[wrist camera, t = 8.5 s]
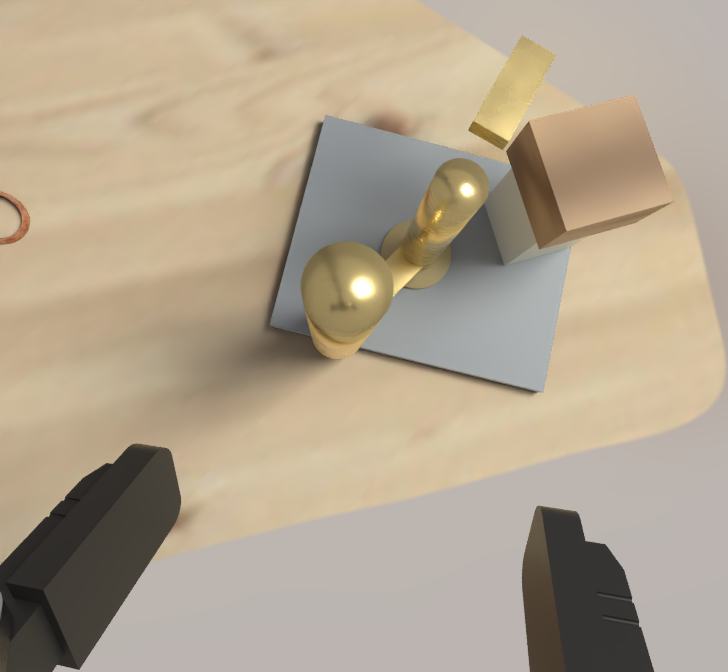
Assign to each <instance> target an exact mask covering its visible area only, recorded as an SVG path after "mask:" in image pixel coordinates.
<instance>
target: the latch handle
mask: <svg viewBox="0 0 728 672" xmlns="http://www.w3.org/2000/svg"><path fill="white" fill-rule="evenodd" d="M555 57H556V55H555V54H553V53H552V52H550V51H548V50H546V49H544V48H543V47H541V46H539V45H538V44H536V43H534V42H532V41H531V40H529V39H527V38H526V37H524V36H521V38H520V40H519V41H518V43H517V45H516V47H515V49H514V50H513V52H512V54H511V55H510V57H509V59H508V61H507V62H506V64H505V66H504V68H503V70H502V71H501V73H500V75H499V77H498V78H497V80H496V82H495V84H494V85H493V87H492V89H491V91H490V92H489V94H488V96H487V98H486V99H485V101H484V103H483V105H482V107H481V108H480V110H479V112H478V114H477V115H476V117H475V119H474V121H473V122H472V124H471V126H470V128H469V131H470V132H472V133H474V134H476V135H477V136H479V137H481V138H483V139H484V140H486V141H488V142H490V143H491V144H493V145H495V146H497V147H498V148H500V149H502V150H503V149H504V147H505V146H506V145H507V143H508V142H509V140H510V138H511V137H512V135H513V133H514V131H515V129H516V128H517V126H518V124H519V122H520V120H521V118H522V117H523V115H524V113H525V111H526V109H527V108H528V106H529V104H530V102H531V100H532V99H533V97H534V95H535V93H536V91H537V89H538V88H539V86H540V84H541V82H542V80H543V79H544V77H545V75H546V73H547V71H548V69H549V68H550V66H551V64H552V62H553V60H554V58H555ZM488 194H489V181H488V177H487V175H486V173H485V171H484V170H483V169H482V168H481V167H480V166H479V165H478V164H477V163H475V162H473V161H471V160H469V159H464V158H455V159H451V160H448V161H446V162H445V163H443V164H442V165H441V166H440V167H439V168H438V170H437V171H436V173H435V175H434V177H433V179H432V181H431V183H430V185H429V187H428V189H427V191H426V193H425V195H424V197H423V199H422V201H421V203H420V205H419V207H418V209H417V211H416V213H415V215H414V217H413V219H412V221H411V223H410V225H409V227H408V229H407V231H406V233H405V235H404V237H403V239H402V241H401V243H400V245H399V248H398V249H397V250H396V251H395V252H394V253H393V254H392V255H391V256H390V257H389V258H388V259H387V260H386V261H385V260H384V259H383V258H382V257H381V256H380V255H379V254H378V253H377V252H376V251H374V250H373V249H371V248H370V247H368V246H366V245H363V244H360V243H356V242H348V241H346V242H337V243H333V244H330V245H328V246H325V247H323V248H322V249H320V250H319V251H318V252H316V253H315V254H314V255H313V256H312V257H311V258H310V260H309V261H308V263H307V264H306V266H305V268H304V271H303V274H302V278H301V286H300V287H301V296H302V300H303V305H304V309H305V313H306V317H307V321H308V325H309V329H310V333H311V337H312V341H313V343H314V345H315V347H316V348H317V350H318V351H319V352H320V353H322V354H323V355H325V356H327V357H329V358H333V359H343V358H347V357H349V356H351V355H353V354H354V353H355V352H357V350H358V349H359V348H360V347H361V345H362V344H363V343H364V342H365V340H366V339H367V338H368V336H369V335H370V334H371V332H372V331H373V330H374V328H375V327H376V326H377V324H378V323H379V322H380V320H381V319H382V318H383V316H384V315H385V314H386V312H387V311H388V309H389V307H390V305H391V302H392V298H393V297H394V296H395V295H396V294H397V293H398V292H399V291H400V290H401V289H402V288H403V287H404V286H405V285H406V284H407V283H408V282H409V281H410V280H411V279H412V278H413V277H414V276H415V275H416V274H417V273H418V272H419V271H424V270H426V269H428V268H430V267H431V266H432V265H433V263H434V262H435V261H436V260H437V259H438V257H439V256H440V255H441V254H442V253H443V251H444V250H445V249H446V248H447V247H448V245H449V244H450V243H451V242H452V241H453V239H454V238H455V237H456V236H457V235H458V233H459V232H460V231H461V230H462V229H463V227H464V226H465V225H466V224H467V223H468V221H469V220H470V219H471V218H472V217H473V215H474V214H475V213H476V212H477V211H478V209H479V208H480V207H481V206H482V205H483V204H484V202H485V201H486V199H487V197H488Z"/></svg>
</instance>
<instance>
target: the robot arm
mask: <svg viewBox="0 0 728 672" xmlns="http://www.w3.org/2000/svg"><path fill="white" fill-rule="evenodd" d="M180 506H181V495H180V491H179V486H178V481H177V477H176V472H175V467H174V463H173V458H172V454H171V452H170V450H169V449H167V448H162V447H156V446H149V445H142V444H133V445H131V446H129V447H128V448H127V449H126V450H125V451H124V452H123V454H122V455H121V456H120V457H119V458H118V459H117V460H116V461H115V462H114V463H113V464H109V463H106V464H105V465H103V466H101V467H100V468H98V469H97V470H95V471H94V472H92V473H90V474H89V475H87V476H86V477H84V478H83V479H82V480H81V481H80V482H79V483H78V484H77V485H76V486H75V487H74V488H73V489H72V490H71V491H70V492H69V493H68V494H67V496H66V497H65V500H64V501H61V502H60V503H59V504H58V505H57V506H56V507H55V508H54V509H53V510H52V511H51V512H50V516H49V517H46V518H45V519H44V520H43V521H42V522H41V523H40V524H39V525H38V526H37V527H36V528H35V529H34V530H33V531H32V532H31V533H30V534H29V536H28V537H27V538H26V539H25V540H24V541H23V542H22V543H21V544H20V545H19V546H18V547H17V548H16V549H15V550H14V551H13V552H12V553H11V554H10V556H9V557H8V558H7V559H6V560H5V561H4V562H3V563H2V564H1V565H0V672H52V671H53V670H54V668H55V667H56V665H61V666H66V667H70V668H74V669H78V670H79V669H80V668H81V666H82V665H83V663H84V662H85V660H86V658H87V657H88V655H89V654H90V652H91V651H92V649H93V648H94V646H95V645H96V643H97V642H98V640H99V639H100V637H101V636H102V634H103V633H104V631H105V630H106V628H107V626H108V625H109V623H110V622H111V620H112V619H113V617H114V616H115V614H116V613H117V611H118V610H119V608H120V606H121V605H122V604H123V602H124V601H125V599H126V597H127V596H128V594H129V593H130V591H131V590H132V588H133V587H134V585H135V584H136V582H137V581H138V579H139V578H140V576H141V575H142V573H143V572H144V570H145V568H146V567H147V565H148V564H149V562H150V561H151V559H152V558H153V556H154V555H155V553H156V552H157V550H158V549H159V547H160V546H161V544H162V543H163V541H164V539H165V538H166V536H167V535H168V533H169V532H170V530H171V529H172V527H173V526H174V524H175V522H176V520H177V517H178V515H179V511H180ZM522 589H523V601H524V611H525V623H526V634H527V645H528V656H529V666H530V672H654V670H653V667H652V663H651V660H650V656H649V653H648V649H647V646H646V643H645V639H644V636H643V633H642V629H641V627H639V619H638V616H637V612H636V609H635V606H634V603H632V596H631V592H630V589H629V585H628V582H627V579H626V575H625V572H624V569H623V568H622V567H621V565H620V564H619V562H618V561H617V560H616V558H615V557H614V556H613V554H612V553H611V551H610V550H609V549H608V547H607V546H606V545H605V544H600V543H593V542H587V541H585V537H584V533H583V529H582V524H581V520H580V517H579V514H578V513H577V512H576V511H570V510H563V509H556V508H550V507H543V506H537V507H536V510H535V513H534V517H533V521H532V525H531V529H530V533H529V538H528V541H527V545H526V549H525V554H524V559H523V569H522Z"/></svg>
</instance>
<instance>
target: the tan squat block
mask: <svg viewBox="0 0 728 672" xmlns="http://www.w3.org/2000/svg"><path fill="white" fill-rule="evenodd" d="M506 152H507V155H508V158H509V161H510V164H511V167H512V170H513V173H514V176H515V179H516V182H517V185H518V188H519V191H520V194H521V197H522V200H523V203H524V206H525V209H526V212H527V215H528V218H529V221H530V224H531V227H532V230H533V233H534V236H535V239H536V242H537V245H538V248H539V250H540V249H544V248H547V247H551V246H554V245H558V244H561V243H565V242H569V241H572V240H576V239H579V238H583V237H586V236H590V235H594V234H597V233H601V232H604V231H608V230H611V229H615V228H619V227H622V226H626V225H629V224H633V223H636V222H638V221H639V220H641V219H643V218H645V217H647V216H648V215H650V214H652V213H654V212H656V211H657V210H659V209H661V208H663V207H665V206H667V205H668V204H670V203H672V202H674V200H673V198H672V195H671V192H670V189H669V187H668V184H667V181H666V178H665V176H664V173H663V170H662V167H661V165H660V162H659V159H658V156H657V154H656V151H655V148H654V145H653V143H652V140H651V137H650V134H649V132H648V129H647V126H646V123H645V121H644V118H643V115H642V112H641V110H640V107H639V104H638V101H637V99H636V96H635V95H631V96H626V97H622V98H618V99H614V100H611V101H607V102H602V103H599V104H595V105H591V106H586V107H582V108H578V109H574V110H570V111H566V112H562V113H558V114H554V115H550V116H546V117H542V118H538V119H534V120H530V121H529V122H528V123H527V124H526V126H525V127H524V128H523V130H522V131H521V132H520V134H519V135H518V136H517V138H516V139H515V140H514V142H513V143H512V144H511V146H510V147H509V148H508V150H507V151H506Z"/></svg>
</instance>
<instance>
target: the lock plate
mask: <svg viewBox="0 0 728 672" xmlns="http://www.w3.org/2000/svg"><path fill="white" fill-rule="evenodd" d="M455 158H464V159H469V160H471V161H473V162H475V163H477V164H478V165H479V166H480V167H481V168H482V169H483V170H484V171H485V173H486V175H487V177H488V181H489V194H488V197H487V199H486V201H485V202H484V204H483V205H482V206H481V207H480V208H479V209H478V211H477V212H476V213H475V214H474V215H473V217H472V218H471V219H470V220H469V221H468V223H467V224H466V225H465V226H464V227H463V229H462V230H461V231H460V232H459V233H458V235H457V236H456V237H455V238H454V239H453V241H452V242H451V243H450V244H449V245H448V247H447V248H446V249H445V250H444V251H443V253H442V254H441V255H440V256H439V257H438V259H437V260H436V261H435V262H434V263H433V265H432V266H431V267H430V268H428V269H426V270H424V271H419V272H418V273H417V274H416V275H415V276H414V277H413V278H412V279H411V280H410V281H409V282H408V283H407V284H406V285H405V286H404V287H403V288H402V289H401V290H400V291H399V292H398V293H397V294H396V295H395V296H394V297H393V298H392V302H391V305H390V307H389V309H388V311H387V312H386V314H385V315H384V316H383V318H382V319H381V320H380V322H379V323H378V324H377V326H376V327H375V328H374V330H373V331H372V332H371V334H370V335H369V336H368V338H367V339H366V340H365V342H364V343H363V344H362V345H361V347H360V349H364V350H368V351H372V352H376V353H380V354H384V355H388V356H392V357H397V358H401V359H405V360H409V361H413V362H417V363H421V364H425V365H429V366H433V367H437V368H441V369H446V370H450V371H454V372H458V373H462V374H466V375H470V376H474V377H478V378H482V379H486V380H490V381H494V382H499V383H503V384H507V385H511V386H515V387H519V388H523V389H527V390H531V391H535V392H544V387H545V381H546V376H547V371H548V366H549V360H550V355H551V350H552V344H553V339H554V334H555V329H556V323H557V318H558V313H559V308H560V302H561V297H562V292H563V287H564V281H565V276H566V271H567V265H568V260H569V255H570V250H571V246H572V245H574V244H576V243H577V242H579V241H581V240H582V239H584V238H586V237H587V236H586V237H583V238H579V239H576V240H572V241H569V242H565V243H561V244H558V245H554V246H551V247H547V248H544V249H540V250H539V248H538V245H537V242H536V239H535V236H534V233H533V230H532V227H531V224H530V221H529V218H528V215H527V212H526V209H525V206H524V203H523V200H522V197H521V194H520V191H519V188H518V185H517V182H516V179H515V176H514V173H513V170H512V167H511V164H507V163H503V162H500V161H496V160H492V159H489V158H485V157H481V156H477V155H474V154H470V153H466V152H462V151H459V150H455V149H451V148H447V147H444V146H440V145H436V144H432V143H429V142H425V141H421V140H417V139H414V138H410V137H406V136H402V135H399V134H395V133H391V132H387V131H384V130H380V129H376V128H372V127H369V126H365V125H361V124H357V123H354V122H350V121H346V120H342V119H339V118H335V117H331V116H328V115H325V118H324V122H323V126H322V130H321V133H320V137H319V141H318V145H317V148H316V152H315V156H314V160H313V163H312V167H311V171H310V175H309V178H308V182H307V186H306V190H305V193H304V197H303V201H302V205H301V209H300V212H299V216H298V220H297V224H296V227H295V231H294V235H293V239H292V242H291V246H290V250H289V254H288V257H287V261H286V265H285V269H284V273H283V276H282V280H281V284H280V288H279V291H278V295H277V299H276V303H275V306H274V310H273V314H272V318H271V321H270V326H271V327H274V328H278V329H282V330H286V331H291V332H295V333H299V334H303V335H307V336H311V333H310V329H309V325H308V321H307V317H306V313H305V309H304V305H303V300H302V296H301V287H300V286H301V278H302V274H303V271H304V268H305V266H306V264H307V263H308V261H309V260H310V258H311V257H312V256H313V255H314V254H315V253H316V252H318V251H319V250H320V249H322V248H323V247H325V246H328V245H330V244H333V243H337V242H346V241H348V242H356V243H360V244H363V245H366V246H368V247H370V248H371V249H373V250H374V251H376V252H377V253H378V254H379V255H380V256H381V257H382V258H383V259H384V260H385V261H386V260H387V259H388V258H389V257H390V256H391V255H392V254H393V253H394V252H395V251H396V250H397V249H398V248H399V245H400V243H401V241H402V239H403V237H404V235H405V233H406V231H407V229H408V227H409V225H410V223H411V221H412V219H413V217H414V215H415V213H416V211H417V209H418V207H419V205H420V203H421V201H422V199H423V197H424V195H425V193H426V191H427V189H428V187H429V185H430V183H431V181H432V179H433V177H434V175H435V173H436V171H437V170H438V168H439V167H440V166H441V165H442V164H443V163H445V162H446V161H448V160H451V159H455Z"/></svg>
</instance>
